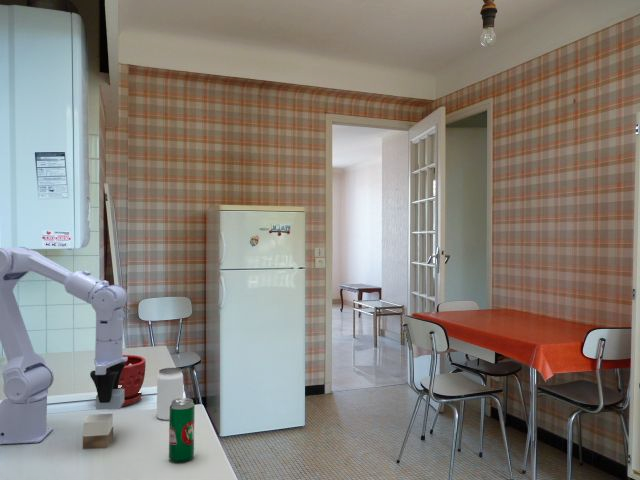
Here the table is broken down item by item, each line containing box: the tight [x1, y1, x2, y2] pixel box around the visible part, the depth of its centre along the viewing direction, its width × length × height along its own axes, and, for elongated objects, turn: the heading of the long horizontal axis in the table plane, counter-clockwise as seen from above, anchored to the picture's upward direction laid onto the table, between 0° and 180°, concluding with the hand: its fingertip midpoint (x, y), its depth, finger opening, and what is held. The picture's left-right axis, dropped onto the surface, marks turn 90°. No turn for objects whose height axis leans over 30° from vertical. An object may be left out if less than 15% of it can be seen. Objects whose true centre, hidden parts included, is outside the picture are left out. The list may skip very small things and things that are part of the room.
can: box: [156, 367, 184, 421], centre depth 127 cm, size 6×6×12 cm
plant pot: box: [118, 354, 146, 407], centre depth 138 cm, size 13×13×12 cm
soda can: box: [168, 397, 196, 464], centre depth 103 cm, size 5×5×12 cm
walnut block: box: [82, 426, 114, 450], centre depth 110 cm, size 5×5×3 cm
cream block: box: [83, 413, 114, 437], centre depth 110 cm, size 5×5×3 cm
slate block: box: [95, 389, 125, 411], centre depth 112 cm, size 5×5×3 cm
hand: (108, 398), depth 112 cm, fingers closed on slate block, 5 cm apart
